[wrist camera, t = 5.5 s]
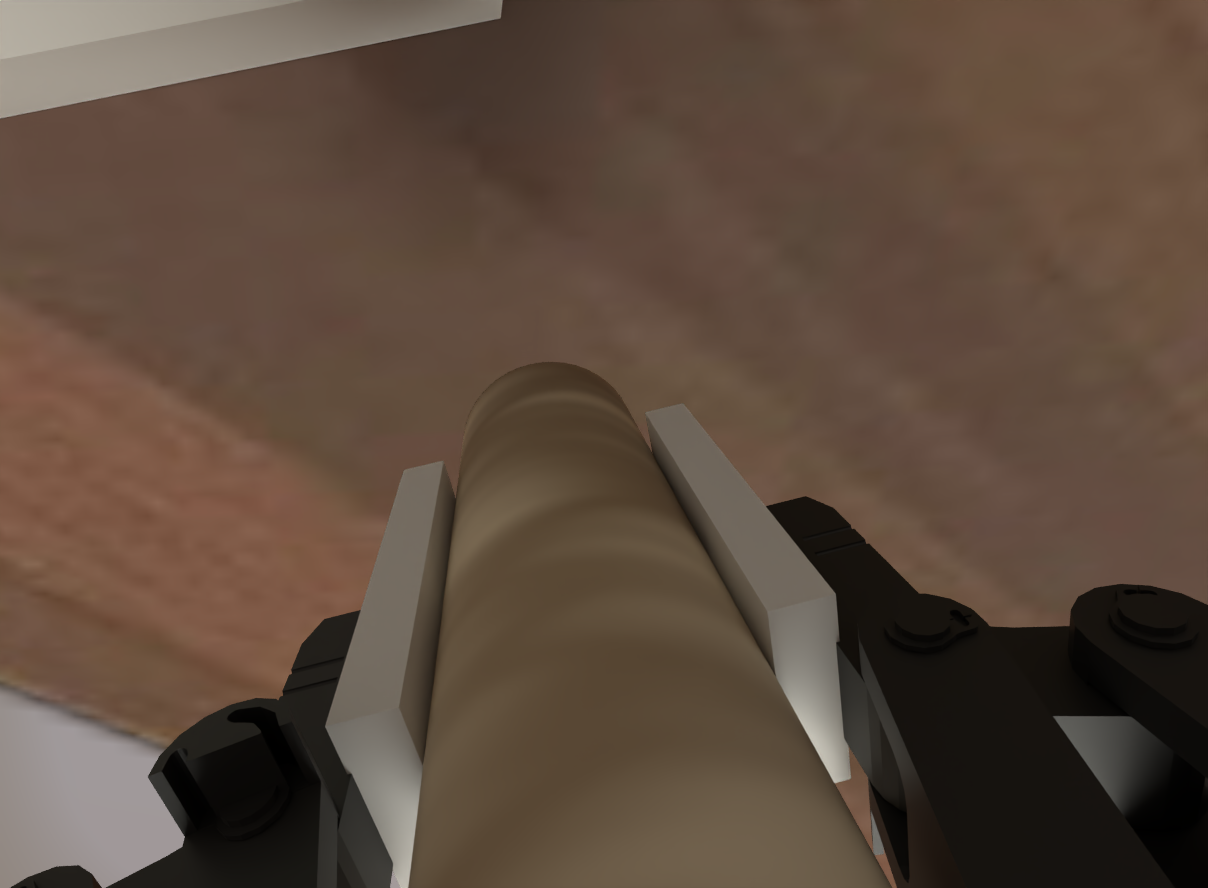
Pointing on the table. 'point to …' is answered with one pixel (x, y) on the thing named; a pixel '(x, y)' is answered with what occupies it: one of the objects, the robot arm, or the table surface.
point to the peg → (605, 678)
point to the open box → (189, 40)
